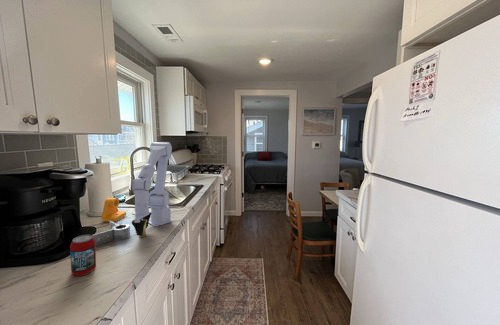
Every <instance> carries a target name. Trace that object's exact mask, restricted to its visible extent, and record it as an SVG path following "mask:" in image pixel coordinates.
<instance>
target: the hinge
mask: <svg viewBox="0 0 500 325" xmlns="http://www.w3.org/2000/svg"><path fill="white" fill-rule="evenodd" d="M108 225H109V226H108V228H109V229H108V230H105V231H101V232H98V233H95V234H92V237H93V238H94V239H95V247H97V246H100V245H101V246H102V245H103V244H106V243H110V242H112V241H114V242H118V241H119V242H120V241H124V240H127V239H128V238H129V237H131V225H130V224H128V223H120V224H119V223H116V222H115V221H108Z"/></svg>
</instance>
